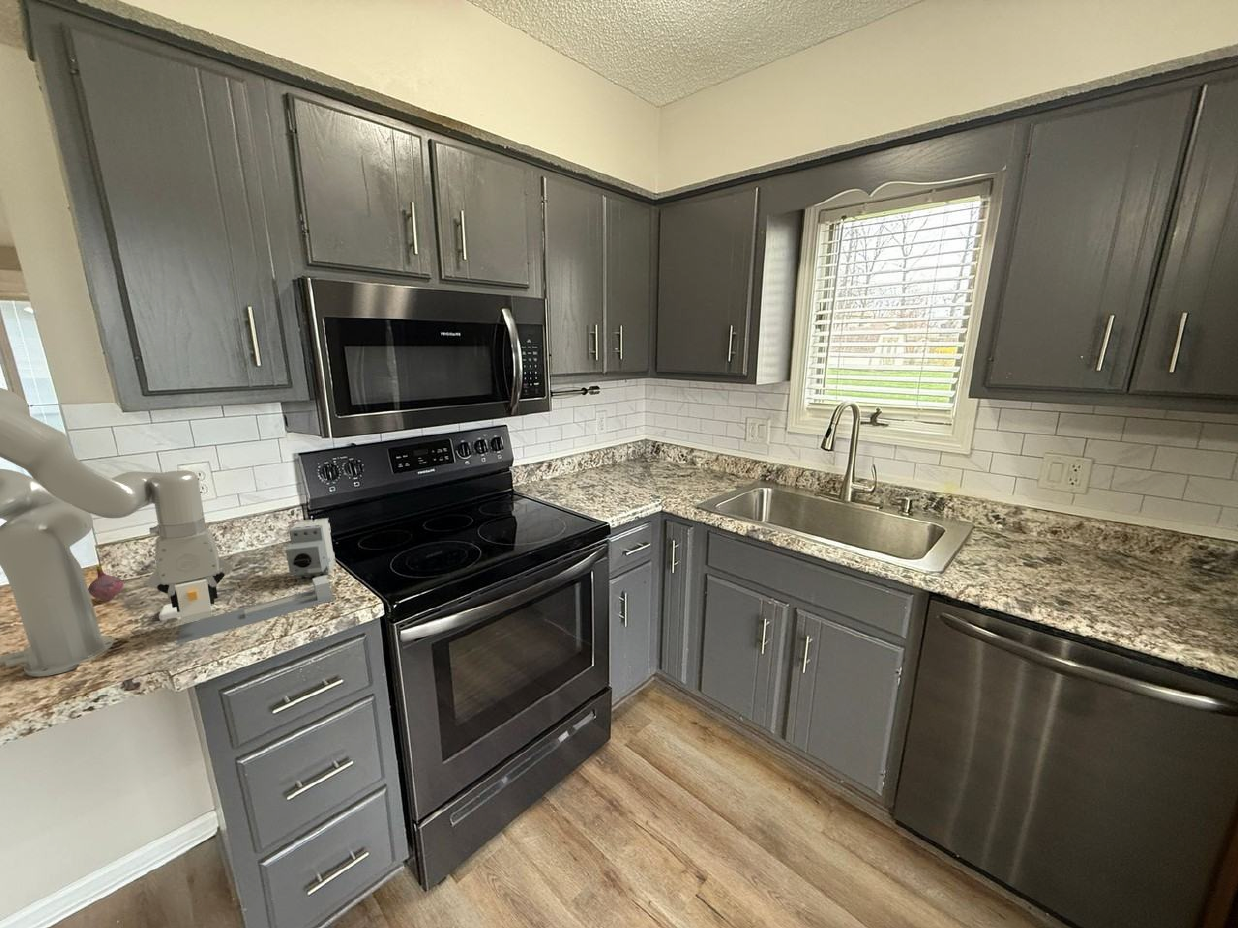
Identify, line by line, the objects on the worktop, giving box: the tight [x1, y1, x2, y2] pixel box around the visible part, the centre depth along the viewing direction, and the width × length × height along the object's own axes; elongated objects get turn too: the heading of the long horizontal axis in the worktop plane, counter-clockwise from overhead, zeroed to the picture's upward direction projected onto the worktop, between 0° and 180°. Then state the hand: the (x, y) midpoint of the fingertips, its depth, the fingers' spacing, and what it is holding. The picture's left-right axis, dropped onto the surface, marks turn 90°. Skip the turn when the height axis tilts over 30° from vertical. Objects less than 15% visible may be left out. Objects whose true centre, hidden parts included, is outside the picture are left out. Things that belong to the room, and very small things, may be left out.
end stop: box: [312, 575, 332, 600], centre depth 125 cm, size 3×5×4 cm, turn 39°
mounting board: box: [176, 588, 336, 646], centre depth 118 cm, size 30×10×1 cm, turn 129°
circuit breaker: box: [285, 517, 336, 579], centre depth 136 cm, size 8×14×15 cm, turn 16°
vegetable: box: [88, 564, 124, 602], centre depth 125 cm, size 6×6×10 cm
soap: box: [158, 603, 181, 621], centre depth 119 cm, size 9×6×3 cm, turn 123°
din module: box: [175, 578, 213, 624], centre depth 109 cm, size 5×9×8 cm, turn 39°
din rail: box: [244, 591, 317, 618], centre depth 120 cm, size 15×2×1 cm, turn 129°
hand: (196, 604), depth 110 cm, fingers closed on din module, 5 cm apart
